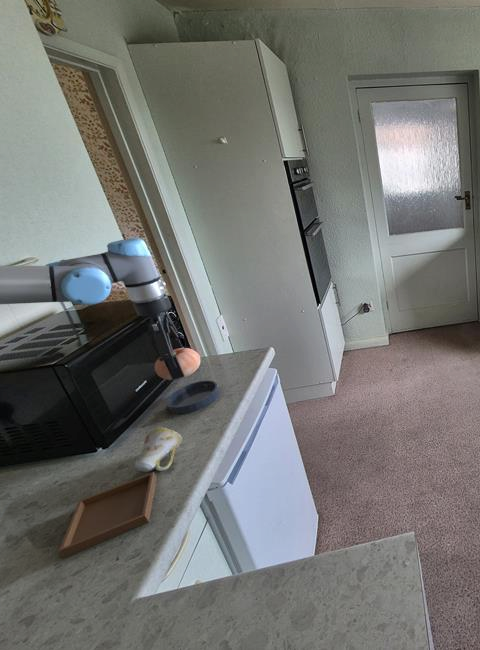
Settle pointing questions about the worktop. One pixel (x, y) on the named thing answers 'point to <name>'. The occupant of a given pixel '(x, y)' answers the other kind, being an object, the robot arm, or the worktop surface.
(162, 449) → the mug
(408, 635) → the worktop surface
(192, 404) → the dark blue ring
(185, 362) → the pumpkin
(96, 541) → the tray
